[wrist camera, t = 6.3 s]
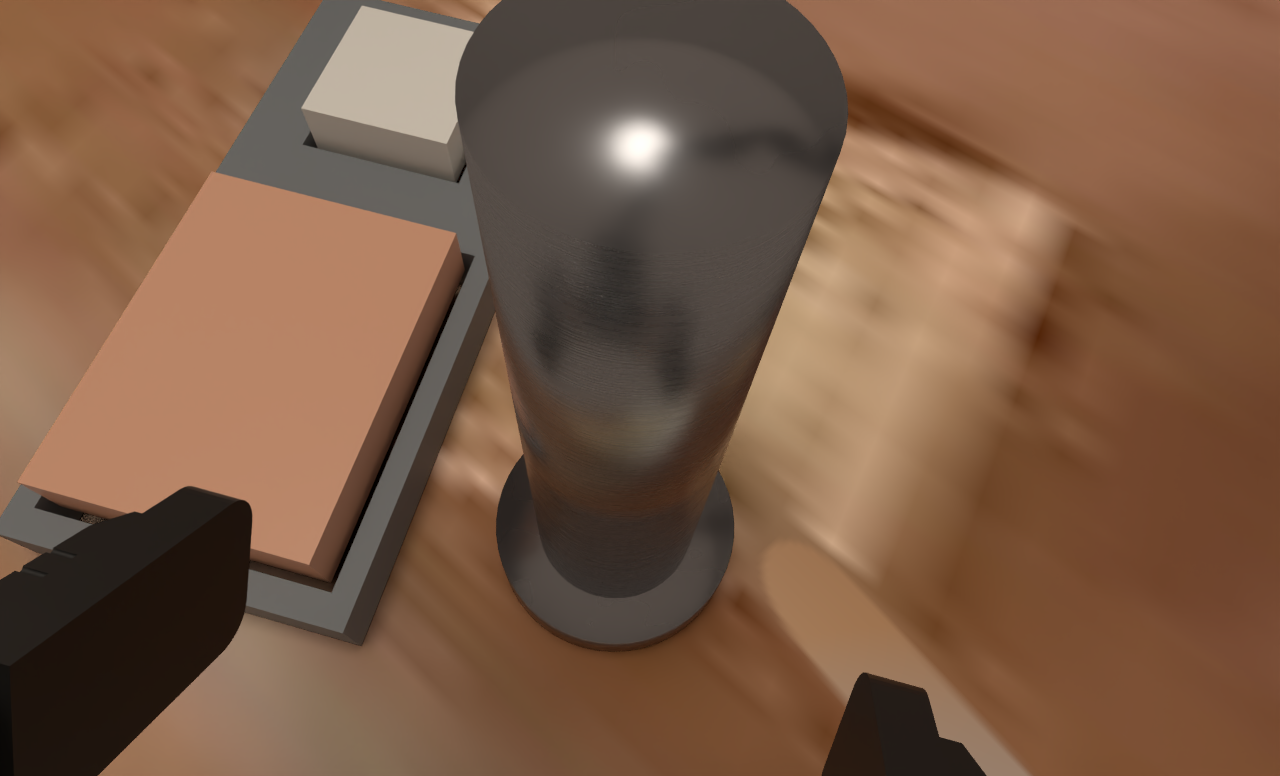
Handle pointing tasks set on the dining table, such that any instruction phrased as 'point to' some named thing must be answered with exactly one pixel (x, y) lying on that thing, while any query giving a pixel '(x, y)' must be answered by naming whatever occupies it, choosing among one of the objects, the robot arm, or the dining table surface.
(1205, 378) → the dining table surface
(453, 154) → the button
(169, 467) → the button
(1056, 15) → the dining table surface
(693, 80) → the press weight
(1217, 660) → the dining table surface
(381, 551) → the button board
